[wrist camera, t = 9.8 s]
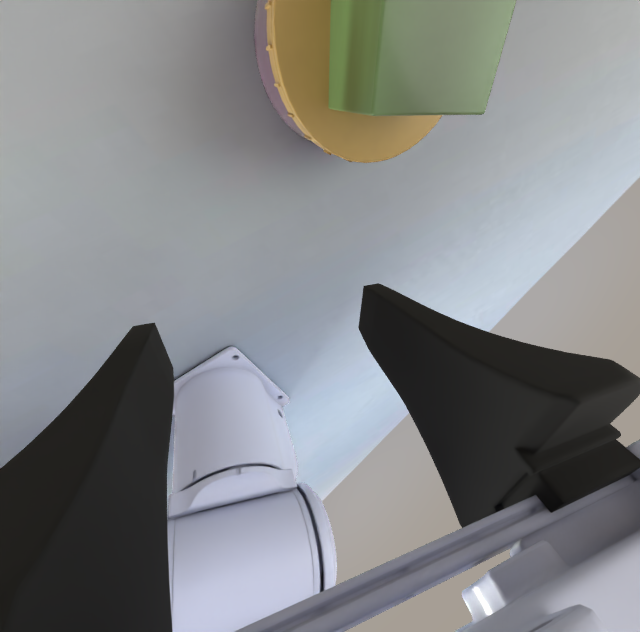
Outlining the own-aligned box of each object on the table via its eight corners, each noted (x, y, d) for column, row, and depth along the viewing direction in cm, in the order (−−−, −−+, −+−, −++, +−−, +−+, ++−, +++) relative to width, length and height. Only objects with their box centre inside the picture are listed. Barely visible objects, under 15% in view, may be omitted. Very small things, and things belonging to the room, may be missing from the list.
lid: (467, 100, 15) (486, 101, 14) (322, 192, 16) (331, 199, 15) (442, -199, 10) (471, -230, 9) (214, -45, 10) (217, -59, 9)
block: (445, -40, 11) (542, -88, 8) (419, 108, 14) (485, 114, 11) (331, -57, 10) (394, -121, 7) (327, 109, 12) (371, 116, 9)
